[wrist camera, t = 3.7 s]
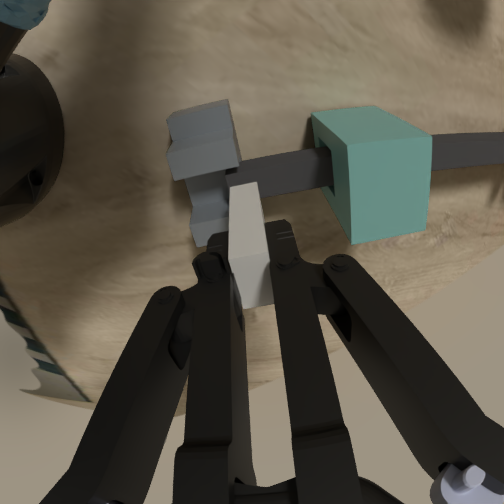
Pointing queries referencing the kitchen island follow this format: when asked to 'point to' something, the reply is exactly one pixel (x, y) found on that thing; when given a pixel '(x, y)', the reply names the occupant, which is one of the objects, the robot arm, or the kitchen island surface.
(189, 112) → the grey stepped brick
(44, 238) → the kitchen island surface
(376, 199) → the sleeve
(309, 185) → the dark grey long bar
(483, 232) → the kitchen island surface
